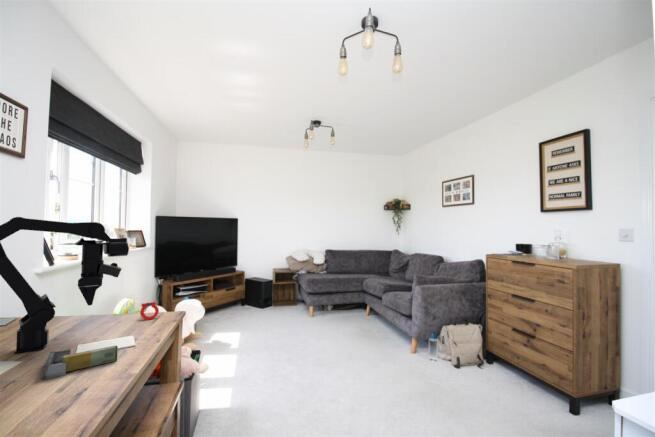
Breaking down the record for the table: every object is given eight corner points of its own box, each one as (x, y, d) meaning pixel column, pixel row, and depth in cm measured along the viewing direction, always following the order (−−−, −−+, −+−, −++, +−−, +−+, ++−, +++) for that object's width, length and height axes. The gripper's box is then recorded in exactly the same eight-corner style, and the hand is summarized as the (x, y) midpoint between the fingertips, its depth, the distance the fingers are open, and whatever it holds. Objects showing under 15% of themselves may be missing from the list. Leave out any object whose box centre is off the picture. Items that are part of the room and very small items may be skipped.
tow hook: (141, 320, 120) (139, 303, 123) (136, 328, 126) (134, 312, 129) (159, 317, 124) (157, 300, 127) (153, 325, 130) (152, 309, 133)
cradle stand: (42, 379, 74) (42, 367, 74) (50, 362, 83) (50, 352, 84) (65, 374, 77) (66, 363, 77) (70, 358, 86) (71, 348, 86)
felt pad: (74, 357, 87) (74, 356, 87) (77, 346, 95) (77, 345, 95) (135, 346, 96) (135, 344, 96) (133, 336, 104) (133, 335, 104)
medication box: (116, 358, 87) (117, 344, 88) (117, 361, 85) (118, 346, 86) (61, 370, 79) (62, 354, 80) (61, 373, 77) (62, 357, 78)
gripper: (121, 259, 101) (119, 304, 100) (119, 254, 116) (118, 294, 115) (78, 260, 94) (76, 310, 94) (83, 255, 109) (81, 298, 109)
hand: (90, 302), depth 103 cm, fingers open, 9 cm apart
